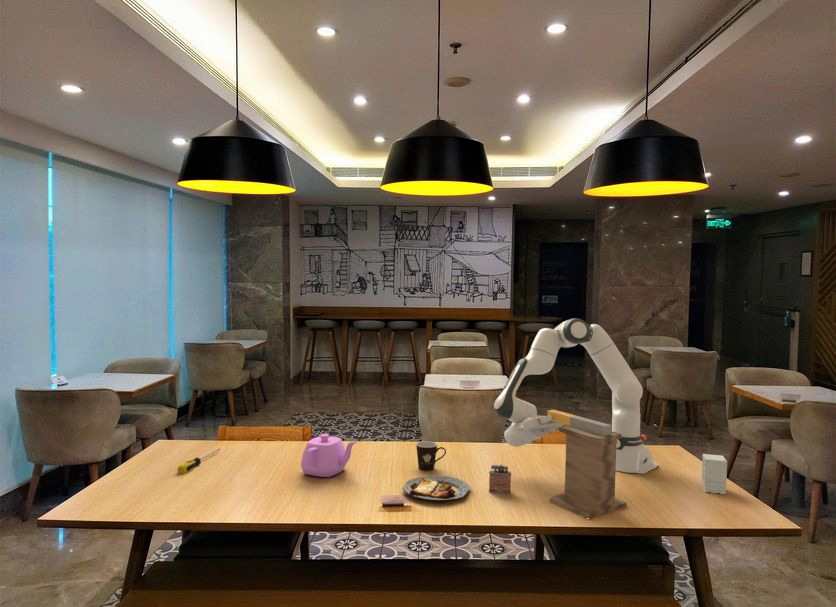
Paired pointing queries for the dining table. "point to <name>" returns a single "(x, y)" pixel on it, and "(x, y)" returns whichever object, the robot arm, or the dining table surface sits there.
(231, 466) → the dining table surface
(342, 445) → the teapot
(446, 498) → the food plate
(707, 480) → the supplement box
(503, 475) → the lighter
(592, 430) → the gray and orange bar
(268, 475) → the dining table surface
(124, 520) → the dining table surface
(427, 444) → the coffee mug
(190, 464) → the screwdriver
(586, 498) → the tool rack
